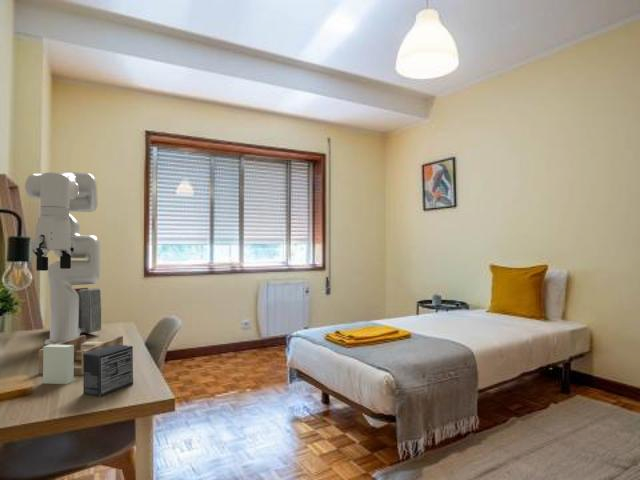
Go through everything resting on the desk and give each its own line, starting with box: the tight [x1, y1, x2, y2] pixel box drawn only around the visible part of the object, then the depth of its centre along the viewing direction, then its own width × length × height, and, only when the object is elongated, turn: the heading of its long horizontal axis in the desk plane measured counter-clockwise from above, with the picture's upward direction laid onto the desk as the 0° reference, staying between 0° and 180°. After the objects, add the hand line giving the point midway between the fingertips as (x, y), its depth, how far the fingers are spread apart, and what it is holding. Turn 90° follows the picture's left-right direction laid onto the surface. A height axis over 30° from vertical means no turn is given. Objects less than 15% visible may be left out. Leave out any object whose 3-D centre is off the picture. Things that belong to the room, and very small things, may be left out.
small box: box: [82, 344, 134, 398], centre depth 107 cm, size 11×6×10 cm, turn 157°
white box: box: [42, 344, 75, 385], centre depth 112 cm, size 2×7×10 cm, turn 86°
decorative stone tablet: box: [73, 287, 102, 335], centre depth 176 cm, size 19×6×30 cm
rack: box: [38, 334, 124, 376], centre depth 128 cm, size 20×14×7 cm
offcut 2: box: [81, 341, 104, 352], centre depth 134 cm, size 4×7×2 cm, turn 93°
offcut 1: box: [75, 350, 82, 361], centre depth 135 cm, size 4×5×3 cm
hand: (54, 269), depth 124 cm, fingers open, 9 cm apart
